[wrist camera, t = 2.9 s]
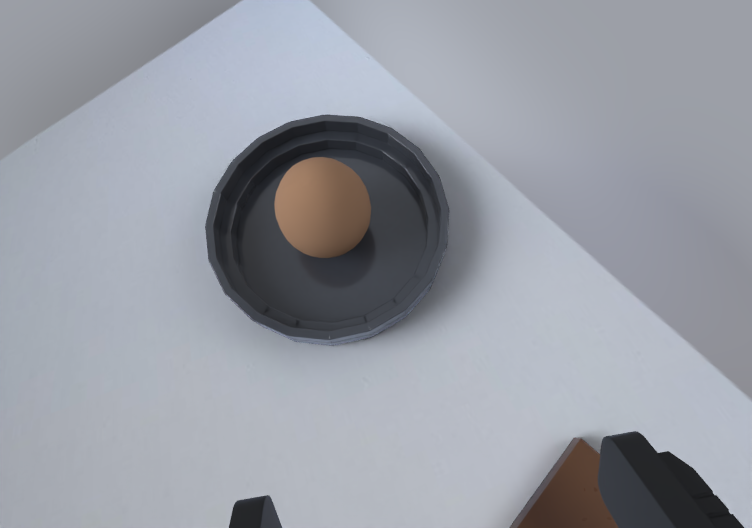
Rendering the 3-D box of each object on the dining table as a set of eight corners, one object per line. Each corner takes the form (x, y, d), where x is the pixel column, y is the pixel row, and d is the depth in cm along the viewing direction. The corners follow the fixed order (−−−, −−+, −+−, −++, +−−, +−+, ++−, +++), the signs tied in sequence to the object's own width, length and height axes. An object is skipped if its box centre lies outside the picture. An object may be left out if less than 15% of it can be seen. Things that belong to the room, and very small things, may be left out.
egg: (366, 276, 33) (358, 234, 25) (281, 265, 34) (247, 220, 26) (379, 198, 35) (374, 136, 27) (298, 189, 36) (271, 125, 28)
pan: (328, 102, 39) (323, 77, 36) (489, 222, 34) (498, 205, 32) (176, 243, 35) (156, 228, 32) (336, 397, 31) (330, 395, 28)
